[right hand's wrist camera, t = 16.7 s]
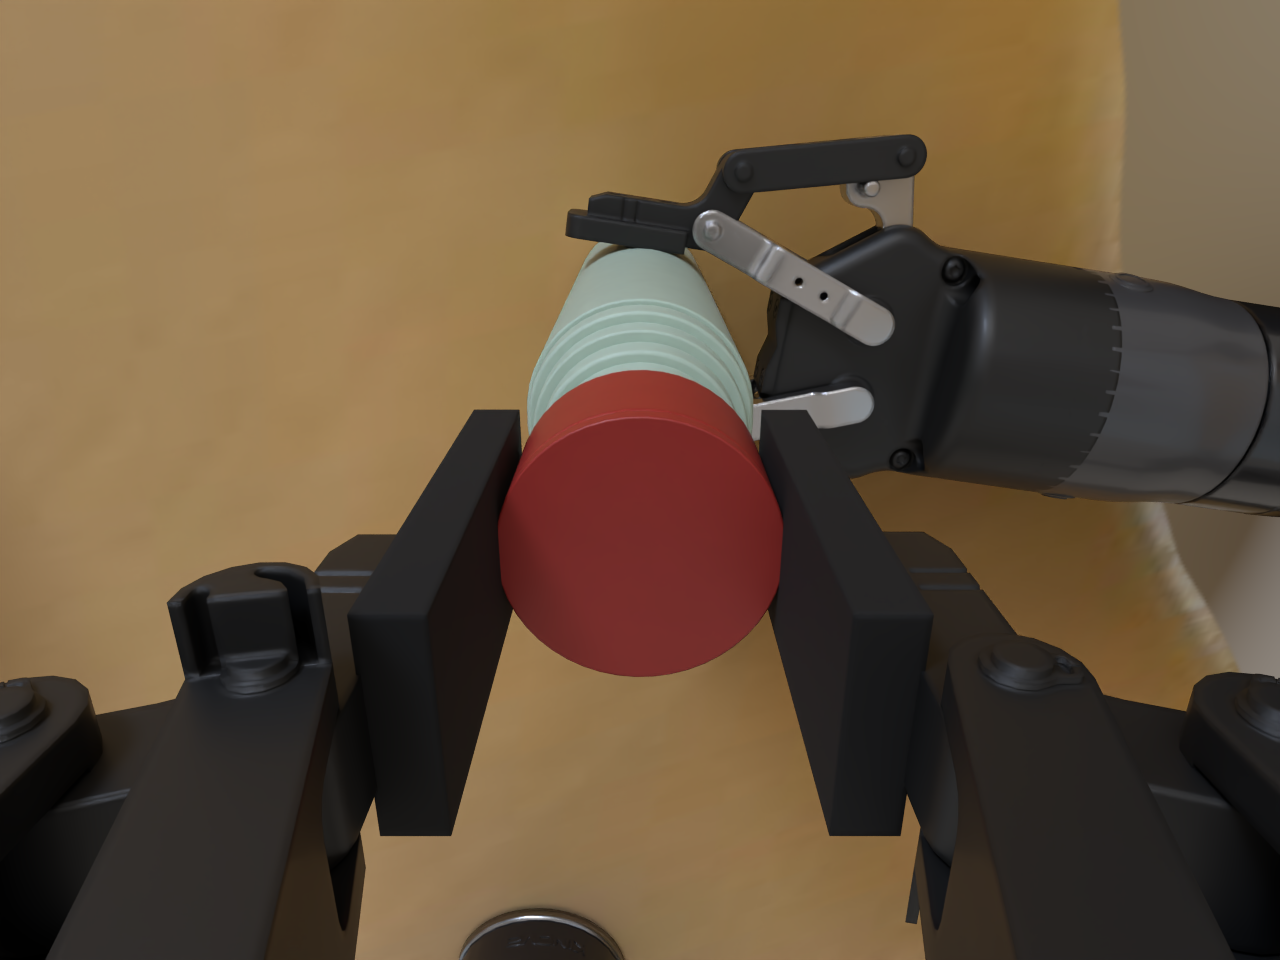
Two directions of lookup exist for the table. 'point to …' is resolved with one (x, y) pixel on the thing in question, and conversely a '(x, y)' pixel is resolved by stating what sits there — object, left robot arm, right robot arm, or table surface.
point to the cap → (640, 526)
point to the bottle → (639, 329)
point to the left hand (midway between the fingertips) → (561, 309)
